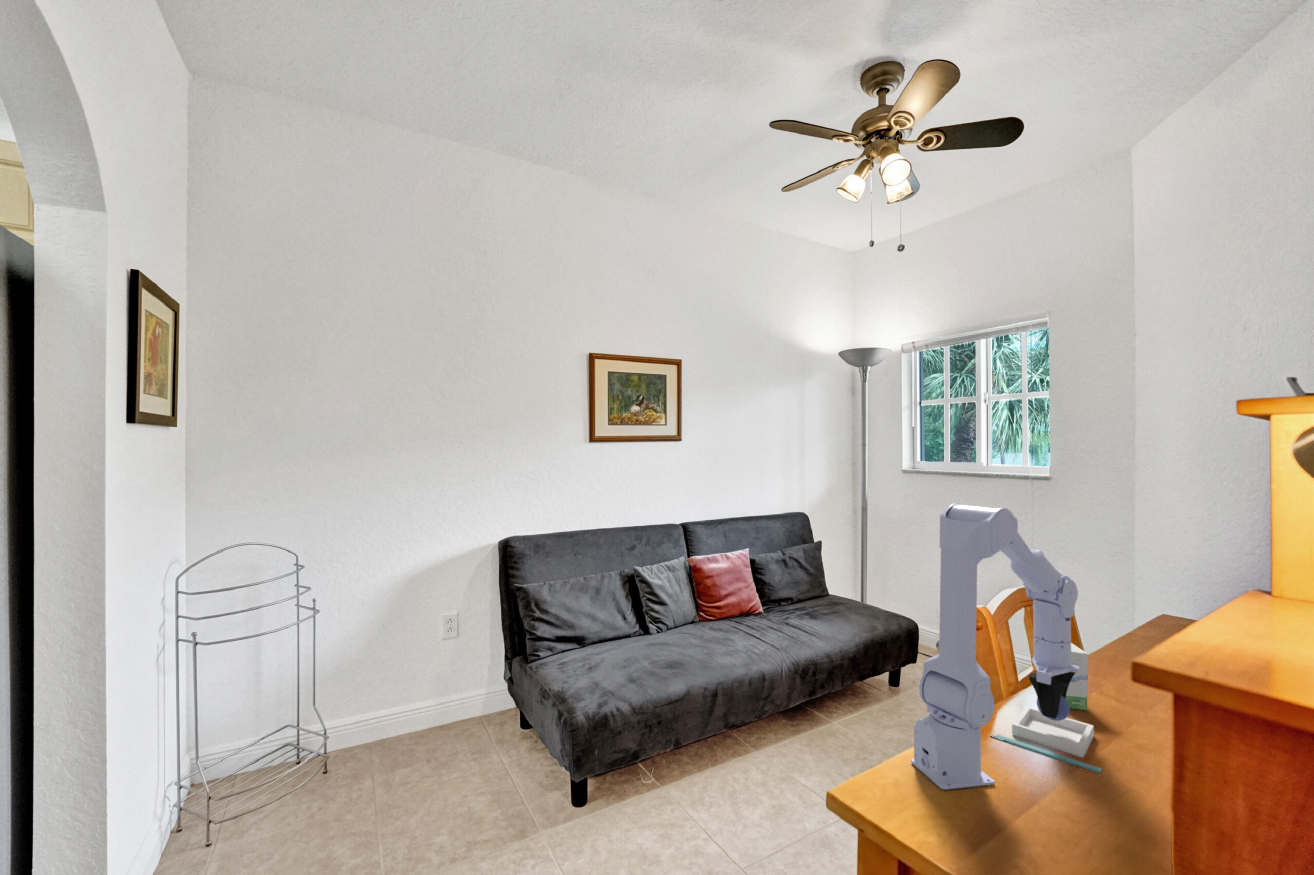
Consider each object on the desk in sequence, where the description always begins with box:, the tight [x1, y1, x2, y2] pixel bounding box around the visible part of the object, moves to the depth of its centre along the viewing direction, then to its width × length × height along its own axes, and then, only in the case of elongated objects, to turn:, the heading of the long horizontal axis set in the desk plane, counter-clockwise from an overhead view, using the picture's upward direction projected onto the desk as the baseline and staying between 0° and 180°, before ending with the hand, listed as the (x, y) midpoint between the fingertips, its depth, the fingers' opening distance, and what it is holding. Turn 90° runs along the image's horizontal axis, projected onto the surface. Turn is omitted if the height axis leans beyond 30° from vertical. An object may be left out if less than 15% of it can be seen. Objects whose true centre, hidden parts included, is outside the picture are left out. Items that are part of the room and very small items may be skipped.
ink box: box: [1066, 642, 1089, 711], centre depth 117 cm, size 9×5×12 cm, turn 168°
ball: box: [1036, 696, 1071, 721], centre depth 102 cm, size 5×5×5 cm
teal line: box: [992, 734, 1102, 774], centre depth 96 cm, size 16×1×1 cm, turn 44°
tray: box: [1011, 705, 1095, 759], centre depth 102 cm, size 11×11×2 cm
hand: (1052, 711), depth 102 cm, fingers closed on ball, 5 cm apart
